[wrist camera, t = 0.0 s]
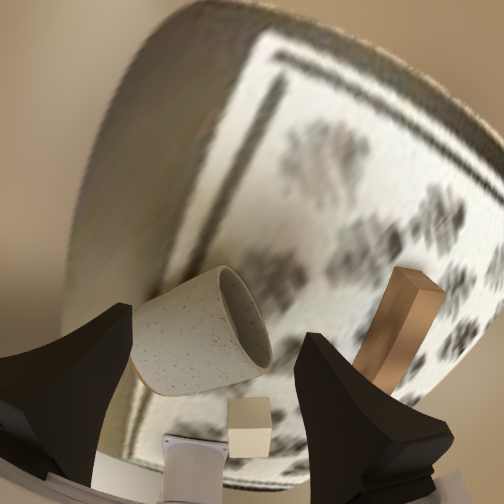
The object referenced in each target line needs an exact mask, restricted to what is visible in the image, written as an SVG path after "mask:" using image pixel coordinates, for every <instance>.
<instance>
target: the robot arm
mask: <svg viewBox="0 0 504 504" xmlns="http://www.w3.org/2000/svg"><path fill="white" fill-rule="evenodd" d="M132 346H133V328H132V305H128V304H123V303H119V302H118V303H117V304H115V305H114V306H112V307H111V308H109V309H108V310H106V311H105V312H103V313H102V314H100V315H99V316H97V317H96V318H94V319H93V320H91V321H90V322H88V323H87V324H85V325H83V326H82V327H80V328H78V329H77V330H75V331H73V332H72V333H70V334H68V335H66V336H64V337H62V338H60V339H58V340H56V341H54V342H52V343H50V344H47V345H45V346H42V347H39V348H36V349H33V350H31V351H28V352H24V353H21V354H17V355H13V356H8V357H3V358H0V504H144V503H139V502H135V501H132V500H128V499H123V498H120V497H117V496H113V495H110V494H107V493H103V492H100V491H97V490H94V489H91V480H92V472H93V466H94V460H95V454H96V450H97V445H98V441H99V437H100V432H101V428H102V425H103V421H104V418H105V414H106V411H107V408H108V406H109V403H110V401H111V398H112V396H113V394H114V392H115V389H116V387H117V385H118V383H119V381H120V378H121V376H122V374H123V372H124V370H125V367H126V365H127V362H128V359H129V356H130V353H131V350H132ZM294 378H295V388H296V392H297V397H298V401H299V405H300V409H301V413H302V418H303V422H304V426H305V430H306V435H307V443H308V452H309V465H310V487H311V503H310V504H475V503H474V501H473V499H472V497H471V495H470V493H469V490H468V488H467V486H466V484H465V482H464V480H463V478H462V476H461V474H460V472H459V470H455V471H452V472H450V473H447V474H445V475H442V476H440V477H438V478H436V479H434V480H433V479H432V477H431V474H433V473H434V469H433V467H432V465H433V464H434V463H435V462H436V461H437V460H438V459H439V458H440V457H441V456H442V455H443V454H444V453H445V452H446V451H447V450H448V449H449V448H450V447H451V445H452V443H453V440H454V436H453V434H452V433H451V431H450V429H449V427H448V425H447V424H446V422H445V421H442V420H439V419H436V418H433V417H431V416H428V415H425V414H422V413H420V412H418V411H416V410H414V409H412V408H410V407H408V406H406V405H404V404H402V403H401V402H399V401H397V400H396V399H394V398H392V397H391V396H389V395H388V394H386V393H385V392H383V391H382V390H381V389H379V388H378V387H377V386H375V385H374V384H373V383H371V382H370V381H369V380H368V379H366V378H365V377H364V376H363V375H362V374H361V373H360V372H359V371H357V370H356V369H355V368H354V367H353V366H352V365H351V364H350V363H349V362H348V361H347V360H346V359H345V358H344V357H343V356H342V355H341V354H340V353H339V352H338V351H337V350H336V349H335V348H334V346H333V345H332V344H331V343H330V342H329V341H328V340H327V339H326V338H325V337H324V336H323V335H322V334H321V333H310V332H307V333H306V336H305V339H304V342H303V344H302V347H301V350H300V352H299V355H298V358H297V360H296V363H295V366H294ZM163 448H164V463H165V466H164V472H163V479H162V485H161V492H160V499H159V502H157V504H223V468H224V465H225V462H226V459H227V455H228V452H229V444H227V443H218V442H209V441H201V440H194V439H187V438H181V437H175V436H170V435H164V436H163Z"/></svg>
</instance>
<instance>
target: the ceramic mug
mask: <svg viewBox="0 0 504 504" xmlns="http://www.w3.org/2000/svg"><path fill="white" fill-rule="evenodd" d="M132 328H133V346H132V350H131V353H130V356H129V362H130V364H131V367H132V369H133V371H134V372H135V374H136V375H137V377H138V378H139V379H140V380H141V382H142V383H143V384H144V385H145V386H146V387H147V388H149V389H150V390H152V391H153V392H155V393H156V394H159V395H163V396H170V397H175V396H187V395H192V394H196V393H200V392H203V391H206V390H210V389H214V388H219V387H223V386H227V385H230V384H234V383H238V382H241V381H245V380H249V379H252V378H256V377H259V376H261V375H264V374H266V373H268V372H269V371H270V369H271V366H272V350H271V345H270V341H269V337H268V333H267V330H266V327H265V324H264V321H263V319H262V316H261V314H260V311H259V309H258V307H257V305H256V303H255V302H254V300H253V298H252V295H251V293H250V291H249V290H248V288H247V287H246V285H245V284H244V282H243V280H242V279H241V278H240V276H239V275H238V274H237V273H236V272H235V271H234V270H233V269H232V268H230V267H229V266H227V265H218V266H216V267H214V268H212V269H210V270H208V271H206V272H204V273H202V274H200V275H198V276H196V277H194V278H192V279H191V280H189V281H187V282H185V283H183V284H181V285H179V286H177V287H175V288H173V289H172V290H170V291H168V292H166V293H164V294H162V295H160V296H158V297H156V298H154V299H152V300H150V301H148V302H146V303H144V304H143V305H142V306H141V307H139V308H138V309H137V310H136V311H135V312H134V313H133V314H132Z"/></svg>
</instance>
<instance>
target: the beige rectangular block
mask: <svg viewBox="0 0 504 504" xmlns="http://www.w3.org/2000/svg"><path fill="white" fill-rule="evenodd" d="M271 434H272V421H271V413H270V405H269V398H228V440H229V454H230V458H254V457H268V455H269V448H270V441H271Z"/></svg>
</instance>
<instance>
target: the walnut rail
mask: <svg viewBox="0 0 504 504" xmlns="http://www.w3.org/2000/svg"><path fill="white" fill-rule="evenodd" d="M445 295H446V292H445V291H443V290H442V289H441V288H440V287H439V286H438V285H437V284H435V283H434V282H433V281H432V280H431V279H430V278H429V277H427V276H426V275H425V274H424V273H423V272H421V271H417V270H411V269H406V268H400V267H395V268H394V271H393V273H392V276H391V279H390V281H389V284H388V286H387V289H386V291H385V294H384V296H383V299H382V301H381V304H380V306H379V308H378V311H377V313H376V316H375V318H374V320H373V322H372V325H371V327H370V329H369V331H368V333H367V336H366V338H365V340H364V342H363V344H362V346H361V348H360V350H359V352H358V355H357V357H356V359H355V361H354V363H353V365H352V366H353V367H354V368H355V369H356V370H357V371H359V372H360V373H361V374H362V375H363V376H364V377H365V378H366V379H368V380H369V381H370V382H371V383H373V384H374V385H375V386H377V387H378V388H379V389H381V390H382V391H383V392H385V393H386V394H388V395H389V396H390V395H391V394H392V392H393V391H394V389H395V388H396V386H397V385H398V383H399V382H400V380H401V378H402V377H403V375H404V374H405V372H406V370H407V369H408V367H409V365H410V364H411V362H412V360H413V358H414V357H415V355H416V353H417V351H418V350H419V348H420V346H421V344H422V342H423V340H424V339H425V337H426V335H427V333H428V331H429V329H430V327H431V325H432V323H433V321H434V319H435V317H436V315H437V313H438V311H439V309H440V306H441V304H442V302H443V300H444V298H445Z"/></svg>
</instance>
